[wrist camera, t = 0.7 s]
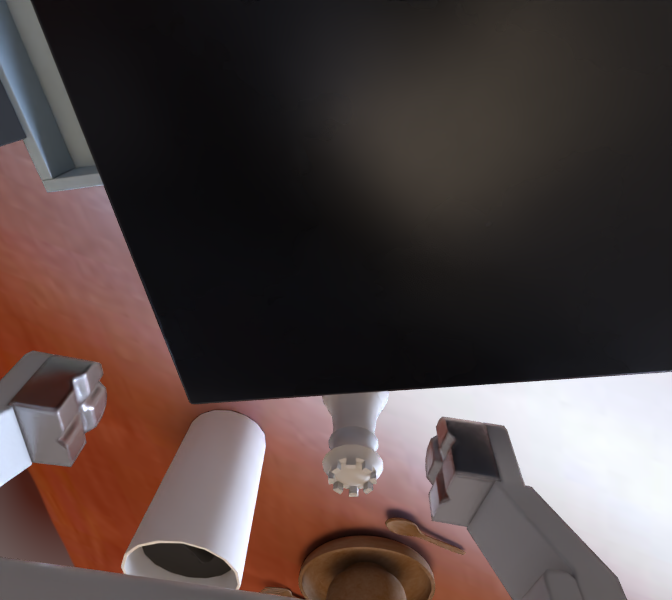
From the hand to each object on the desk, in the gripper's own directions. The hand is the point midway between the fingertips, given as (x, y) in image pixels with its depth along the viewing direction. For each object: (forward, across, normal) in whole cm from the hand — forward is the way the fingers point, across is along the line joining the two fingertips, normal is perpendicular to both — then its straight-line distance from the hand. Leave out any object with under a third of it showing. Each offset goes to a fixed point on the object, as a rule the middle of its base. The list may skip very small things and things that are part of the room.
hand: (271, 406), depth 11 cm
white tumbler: (+14, +4, +20) cm, 25 cm away
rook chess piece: (+15, -4, +13) cm, 20 cm away
